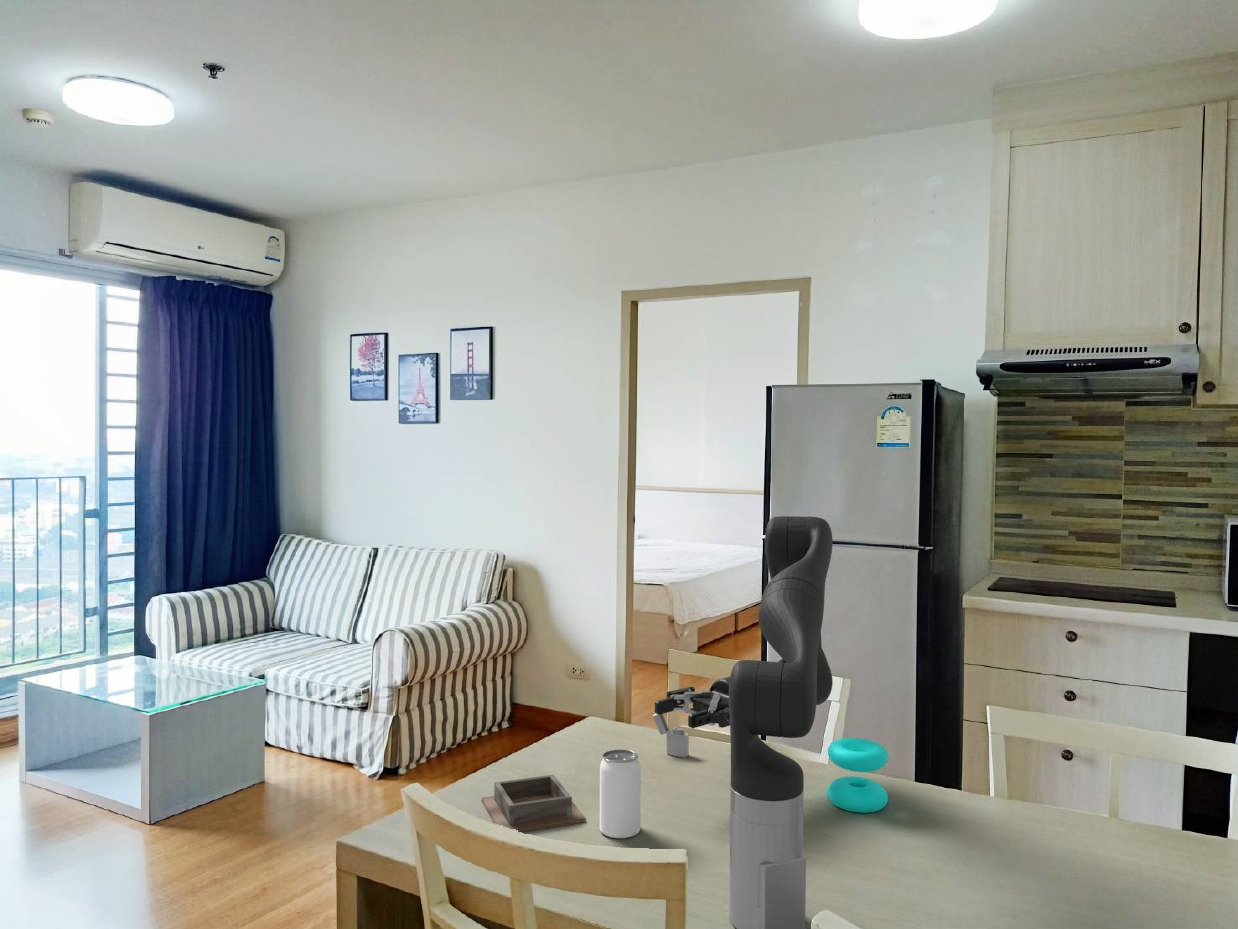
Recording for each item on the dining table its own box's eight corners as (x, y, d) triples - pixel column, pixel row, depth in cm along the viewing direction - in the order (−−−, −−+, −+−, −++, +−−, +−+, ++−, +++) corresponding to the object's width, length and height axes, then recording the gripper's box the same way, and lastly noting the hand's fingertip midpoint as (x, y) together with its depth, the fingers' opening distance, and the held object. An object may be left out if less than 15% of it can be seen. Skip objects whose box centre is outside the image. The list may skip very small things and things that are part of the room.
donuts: (816, 739, 152) (863, 733, 156) (815, 796, 152) (862, 788, 156) (851, 758, 143) (901, 751, 146) (850, 819, 143) (900, 810, 147)
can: (636, 841, 134) (636, 764, 134) (595, 838, 136) (595, 761, 135) (643, 824, 141) (644, 750, 140) (604, 820, 142) (604, 747, 142)
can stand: (585, 821, 141) (585, 799, 141) (500, 835, 136) (500, 812, 136) (560, 790, 154) (560, 769, 154) (481, 801, 149) (481, 780, 149)
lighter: (688, 755, 172) (689, 714, 172) (685, 758, 171) (686, 717, 171) (655, 749, 175) (655, 710, 175) (652, 752, 174) (652, 712, 174)
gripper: (714, 666, 160) (645, 682, 150) (772, 684, 148) (701, 703, 139) (714, 707, 160) (645, 725, 150) (772, 728, 149) (701, 749, 139)
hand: (672, 715), depth 144 cm, fingers open, 8 cm apart
